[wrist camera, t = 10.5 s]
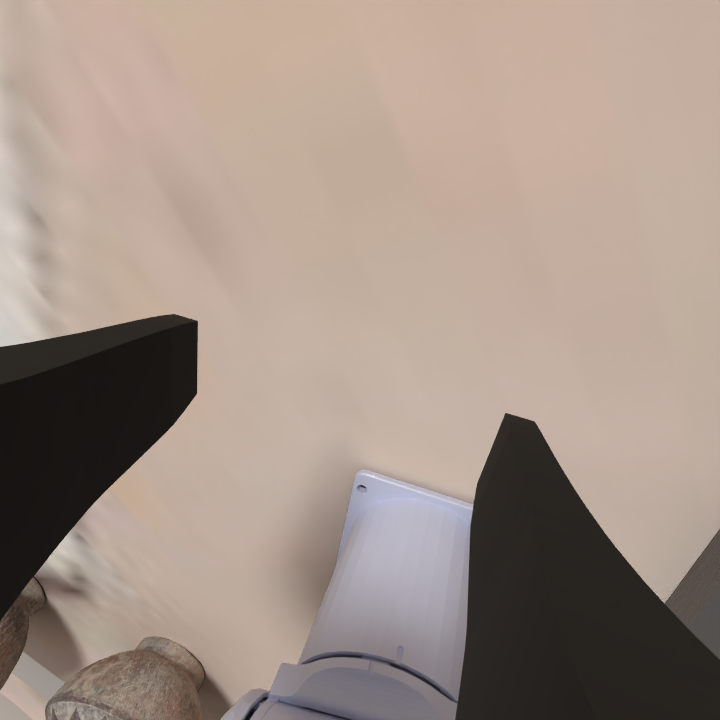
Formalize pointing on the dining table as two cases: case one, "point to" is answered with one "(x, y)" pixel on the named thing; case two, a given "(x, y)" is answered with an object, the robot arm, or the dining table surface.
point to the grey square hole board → (701, 598)
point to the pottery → (111, 675)
